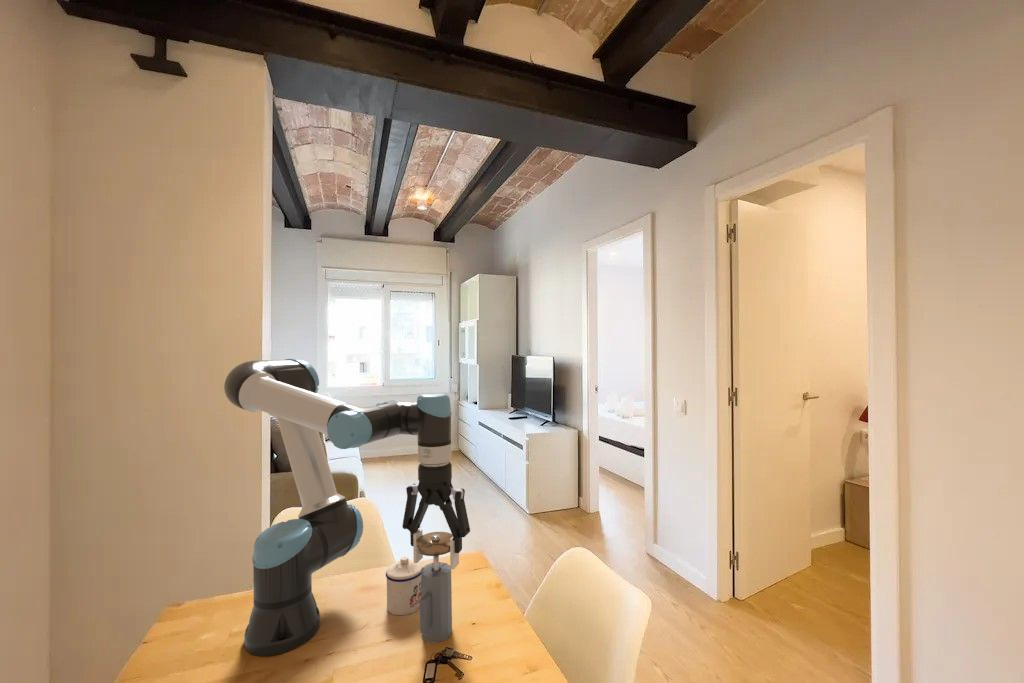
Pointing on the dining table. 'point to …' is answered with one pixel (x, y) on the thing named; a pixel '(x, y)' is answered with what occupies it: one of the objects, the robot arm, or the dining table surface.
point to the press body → (436, 603)
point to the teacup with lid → (403, 587)
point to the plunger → (434, 546)
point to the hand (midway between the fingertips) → (436, 563)
